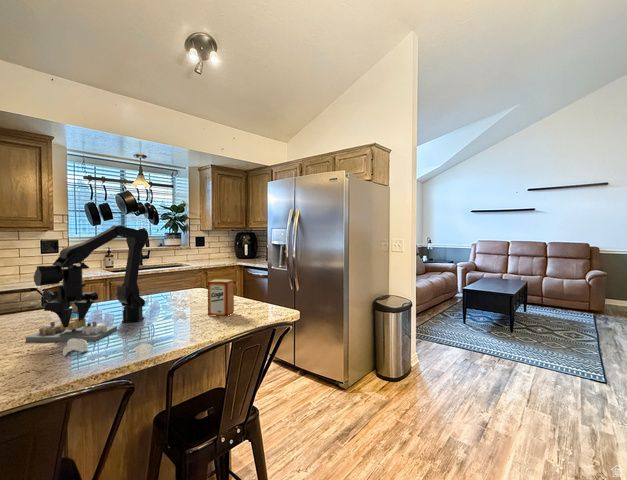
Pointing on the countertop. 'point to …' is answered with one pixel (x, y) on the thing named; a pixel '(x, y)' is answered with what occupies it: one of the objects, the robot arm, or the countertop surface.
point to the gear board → (71, 332)
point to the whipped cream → (75, 346)
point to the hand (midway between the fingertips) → (73, 324)
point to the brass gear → (74, 324)
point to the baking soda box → (220, 297)
